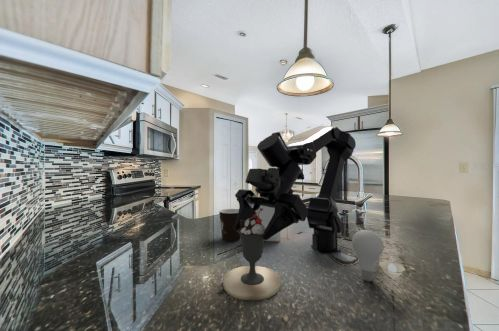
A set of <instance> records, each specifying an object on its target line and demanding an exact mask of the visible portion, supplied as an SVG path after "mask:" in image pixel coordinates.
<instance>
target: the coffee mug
mask: <svg viewBox="0 0 499 331" xmlns="http://www.w3.org/2000/svg"><path fill="white" fill-rule="evenodd" d="M238 212H239V208H224V209H221V210H219V211H218V213H219V220H220V222H219V223H220V231H221V237H222V238H221V239H222V241H223V242H227V243H235V242H239V241H241V237H240V234H239V233H238V232H237V231H236V230H235V229H234V226H235V223H236V219H237V216H238Z"/></svg>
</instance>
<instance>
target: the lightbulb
mask: <svg viewBox="0 0 499 331" xmlns="http://www.w3.org/2000/svg"><path fill="white" fill-rule="evenodd" d="M351 247H352V249H353V251H354V253H355V254H356V256H357V258H358V265H359V268H360V273H361V274H360V275H361V278H362V279H363V280H364V281H366V282H372V281H374V280H375V271H376V270H377V263H378V260H379V258H380V257H381V255H382V254H383V252H384V242H383V240H382V238H381V237H380V235H378V234H377V233H376V232H374V231H372V230H370V229H369V230H368V229H361V230H358V231H357V232H355V233H354V234H353V236H352V240H351Z"/></svg>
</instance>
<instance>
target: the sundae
mask: <svg viewBox="0 0 499 331" xmlns="http://www.w3.org/2000/svg"><path fill="white" fill-rule="evenodd" d="M260 210H261V211H262V210H263V209H262V208H260ZM260 210H259V211H260ZM259 211H258V212H259ZM261 211H260V212H261ZM258 212H257V213H258ZM260 212H259V213H260ZM261 222H262V220H261V219H260V218H259V214H258V216H257V214H256V215H253V217H252V218H249V219H247V220H246V221H244V220H240V225H241V228H240V229H239V230H237V232H238V233H239V234H240V243H241V251H242V255H243V258H244V259H245V260H246V261H247V262H248V263H249V266H250V270H249V273H246V274H244V275H242V276H241V281H242V282H243V283H245V284H249V285H256V284H260V283H262V282H263V281H264V277H263V276H262V275H261V274H258V273H256V271H255V266H256V263H258V262H259V261H260V259H261V258H262V256H263V252H264V244H265V241H264V239H263V238H262V236H263V234H264V231H265V227H264V226H263V224H262V223H261Z"/></svg>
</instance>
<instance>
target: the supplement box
mask: <svg viewBox="0 0 499 331" xmlns="http://www.w3.org/2000/svg"><path fill="white" fill-rule="evenodd" d="M259 195H260V194H259ZM259 195H257V196H259ZM260 208H262V209H263V210H262V211H261V210H260ZM260 208H259V209H258V210H256V211H255V212H256V214H257V216H258V214H259V218H260V219H261V220H262V222H261V223H262V224H263V226H264V227H265V229H266V227H267V226H268V224H269V222H270V220H271V218H272V216H273V215H274V212H275V208H271V207H268V206H262V205H260ZM259 210H260V211H261V212H260V211H259ZM258 211H259V212H260V213H259V212H258ZM257 212H258V213H257ZM256 214H255V215H256ZM281 231H282V230H281ZM281 231H280V232H278V233H277V234H275V235H274V236H272V237H271V238H269V239H268V240H264V242H276V243H277V242H279V243H280V242H281V233H282V232H281Z"/></svg>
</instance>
